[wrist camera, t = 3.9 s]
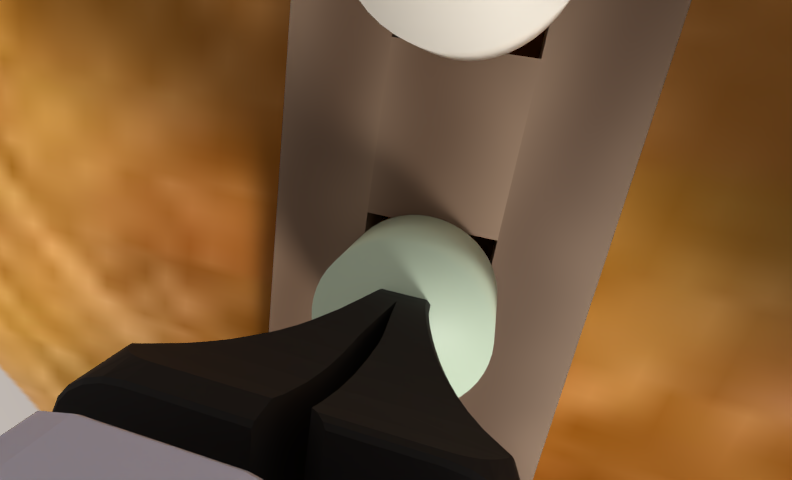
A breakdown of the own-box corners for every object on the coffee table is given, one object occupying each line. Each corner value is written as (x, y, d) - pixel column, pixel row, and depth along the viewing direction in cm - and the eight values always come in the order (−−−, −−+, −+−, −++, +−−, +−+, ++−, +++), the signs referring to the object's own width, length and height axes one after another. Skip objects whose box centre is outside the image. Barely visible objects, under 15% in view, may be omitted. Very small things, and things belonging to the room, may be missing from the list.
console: (761, -292, 10) (815, -374, 9) (480, 596, 20) (477, 646, 19) (345, -299, 12) (314, -369, 10) (275, 523, 22) (253, 562, 20)
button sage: (514, 218, 15) (515, 265, 11) (482, 347, 16) (471, 430, 12) (370, 188, 15) (320, 221, 11) (352, 313, 17) (304, 381, 13)
